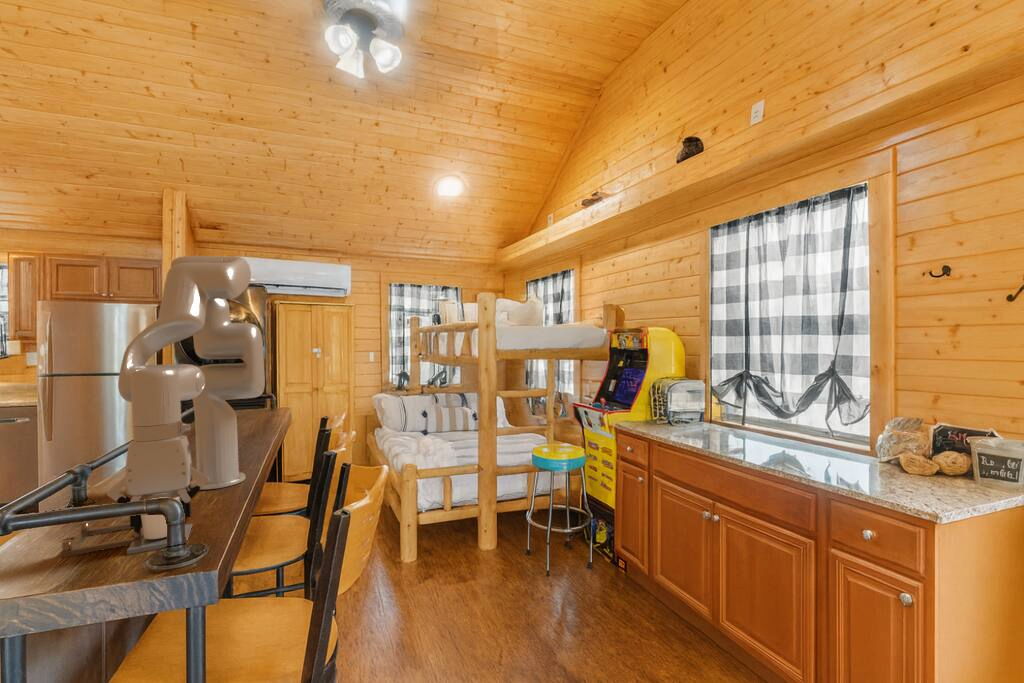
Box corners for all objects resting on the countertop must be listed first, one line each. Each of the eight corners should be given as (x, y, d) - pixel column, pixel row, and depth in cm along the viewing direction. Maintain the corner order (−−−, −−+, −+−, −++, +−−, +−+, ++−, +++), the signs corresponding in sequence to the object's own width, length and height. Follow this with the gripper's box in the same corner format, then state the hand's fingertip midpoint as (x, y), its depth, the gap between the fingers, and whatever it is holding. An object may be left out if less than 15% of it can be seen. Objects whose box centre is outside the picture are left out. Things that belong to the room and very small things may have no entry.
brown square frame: (82, 535, 97) (81, 522, 97) (152, 523, 102) (152, 511, 102) (61, 557, 87) (61, 543, 87) (141, 543, 92) (140, 530, 92)
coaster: (137, 536, 95) (137, 532, 95) (192, 527, 100) (192, 523, 100) (127, 554, 87) (126, 550, 87) (187, 543, 92) (186, 539, 92)
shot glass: (141, 531, 95) (140, 495, 95) (184, 523, 98) (182, 488, 98) (137, 543, 89) (136, 505, 89) (183, 534, 93) (181, 498, 92)
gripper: (212, 424, 101) (216, 510, 101) (105, 434, 93) (109, 528, 93) (209, 430, 94) (213, 522, 94) (93, 442, 86) (98, 542, 86)
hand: (161, 524), depth 94 cm, fingers closed on shot glass, 6 cm apart
